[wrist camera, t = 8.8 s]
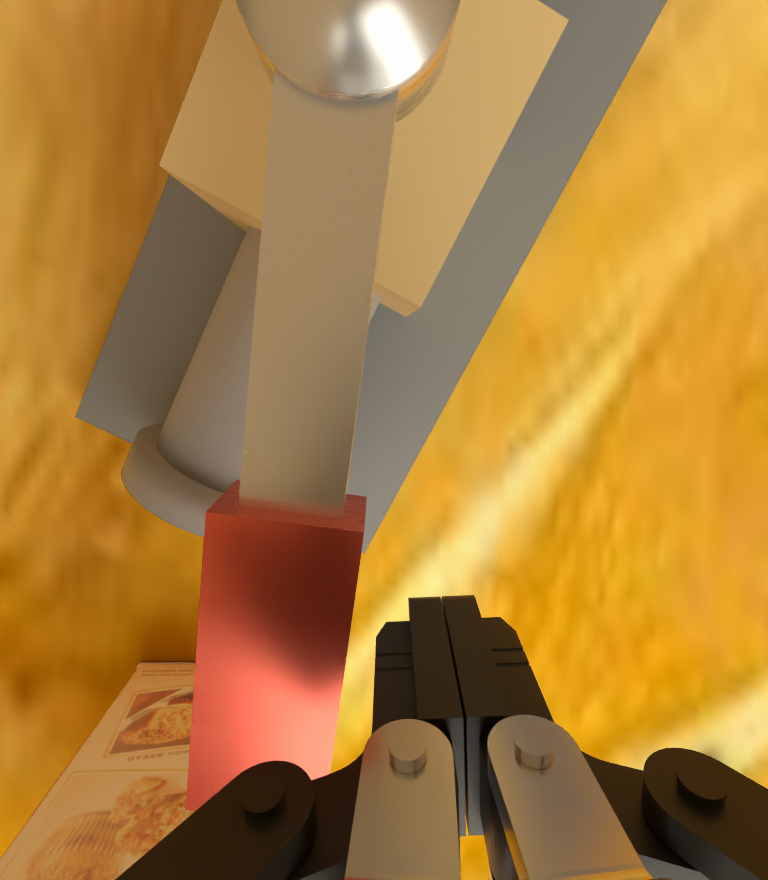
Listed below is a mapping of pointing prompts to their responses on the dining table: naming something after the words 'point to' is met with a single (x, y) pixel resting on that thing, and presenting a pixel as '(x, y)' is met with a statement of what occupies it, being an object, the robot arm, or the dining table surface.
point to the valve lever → (304, 383)
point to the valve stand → (400, 251)
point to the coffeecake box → (115, 786)
